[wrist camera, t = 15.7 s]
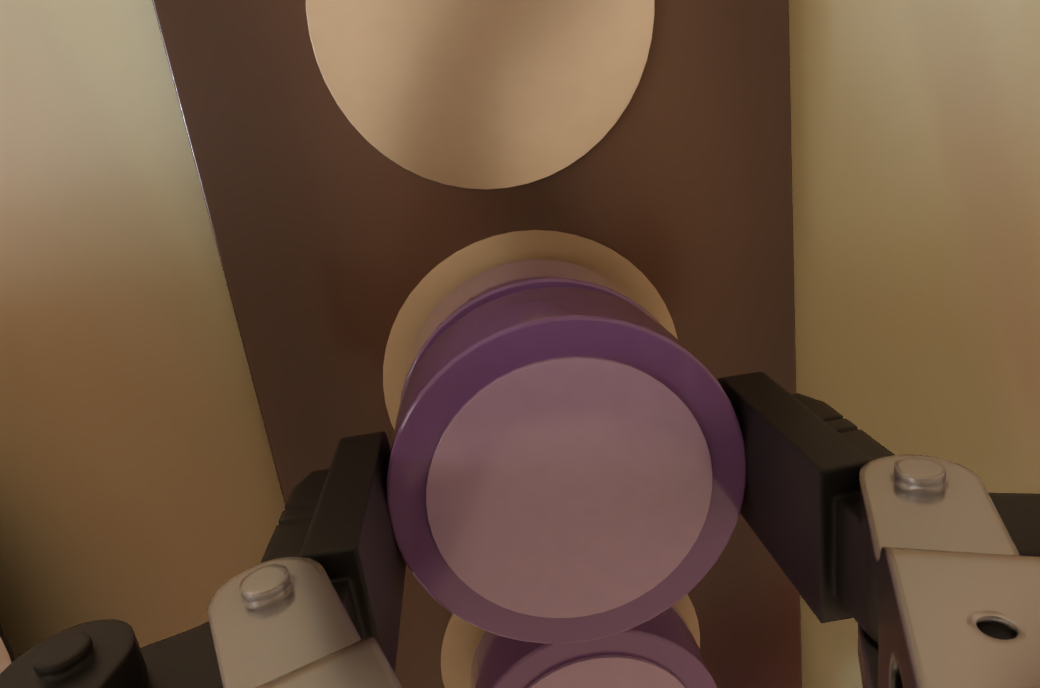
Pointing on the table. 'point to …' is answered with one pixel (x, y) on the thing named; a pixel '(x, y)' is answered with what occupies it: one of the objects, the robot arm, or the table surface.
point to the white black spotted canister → (5, 652)
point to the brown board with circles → (496, 218)
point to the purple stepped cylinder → (562, 467)
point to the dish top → (597, 660)
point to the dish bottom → (505, 283)
